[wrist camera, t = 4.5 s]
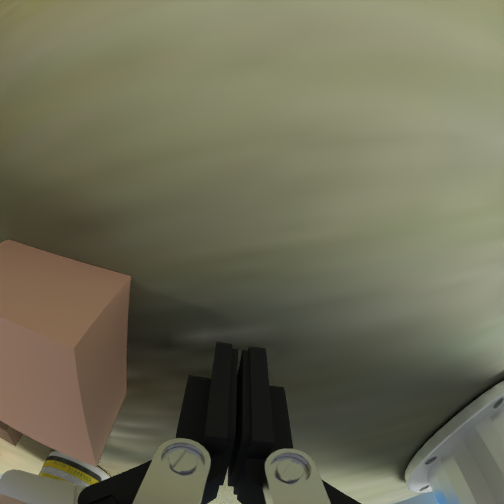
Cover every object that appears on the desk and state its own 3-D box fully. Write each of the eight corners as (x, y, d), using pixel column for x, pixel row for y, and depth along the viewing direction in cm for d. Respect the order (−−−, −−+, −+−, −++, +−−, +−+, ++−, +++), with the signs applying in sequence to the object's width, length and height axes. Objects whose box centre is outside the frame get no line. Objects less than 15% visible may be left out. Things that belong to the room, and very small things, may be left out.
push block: (132, 273, 10) (74, 348, 6) (127, 390, 12) (97, 467, 8) (10, 238, 10) (-64, 279, 5) (23, 350, 12) (-23, 405, 7)
